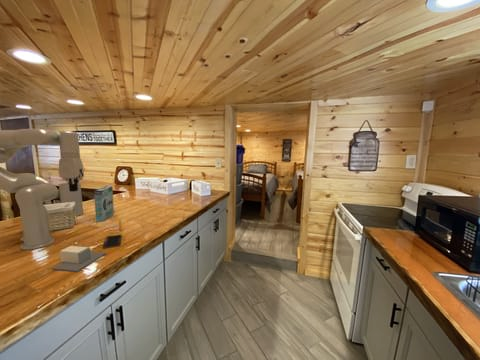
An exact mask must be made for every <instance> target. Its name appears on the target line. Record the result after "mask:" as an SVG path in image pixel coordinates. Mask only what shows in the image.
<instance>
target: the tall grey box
mask: <svg viewBox="0 0 480 360" xmlns="http://www.w3.org/2000/svg"><path fill="white" fill-rule="evenodd" d="M77 184H78V191H74V192H70V191H69V184H68V183H67V182H65V183H59V184H58V188H59V189H58V191H59V198H60V199H59V200H60V203H68V202H75V203H76V206H75V216H76V217H79V215H80V216H81V215H83V214H84V206H83V197H82V196H83V195H82V185H81V184H82V183H81V182H79V183H77Z"/></svg>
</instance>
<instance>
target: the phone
mask: <svg viewBox="0 0 480 360" xmlns="http://www.w3.org/2000/svg"><path fill="white" fill-rule="evenodd" d="M122 237H123V236H122V234H117V235H116V234H115V235H109V236H106V237H105V239H104V242H103V245H102V249H103V250H105V249H112V248H116V247H120V246H121V243H122Z"/></svg>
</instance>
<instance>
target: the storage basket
mask: <svg viewBox="0 0 480 360" xmlns="http://www.w3.org/2000/svg"><path fill="white" fill-rule="evenodd" d="M43 205H44V206H45V207H46V209H47V213H48V221H49V230H50V232H52V231H53V230H54V231H60V230H65V229H70V228H71V229H72V228H74V226H75V224H76V217H75V206H76V203H75V202H68V203H61V202H60V203H59V202H58V203H52V204H51V203H49V204H43ZM19 213H20V212H19ZM19 215H20V217H21V213H20V214H19ZM54 231H53V232H54Z"/></svg>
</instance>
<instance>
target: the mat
mask: <svg viewBox="0 0 480 360" xmlns="http://www.w3.org/2000/svg"><path fill="white" fill-rule="evenodd" d="M90 253H91V258H89V259H88V260H86V261H84V262H83V263H71V262H61V263H59V264H57V265H55V266H54V267H52V268H51V270H52V271H61V270H62V272H74V273H78V272H80V271H82V270H83V269H85V268H86V267H88V266H89V265H91V264H92V263H94V262H96V261H97V260H100V259H101V258H103V257H104V256H106V255H107V252H101V251H91V250H90Z"/></svg>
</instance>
